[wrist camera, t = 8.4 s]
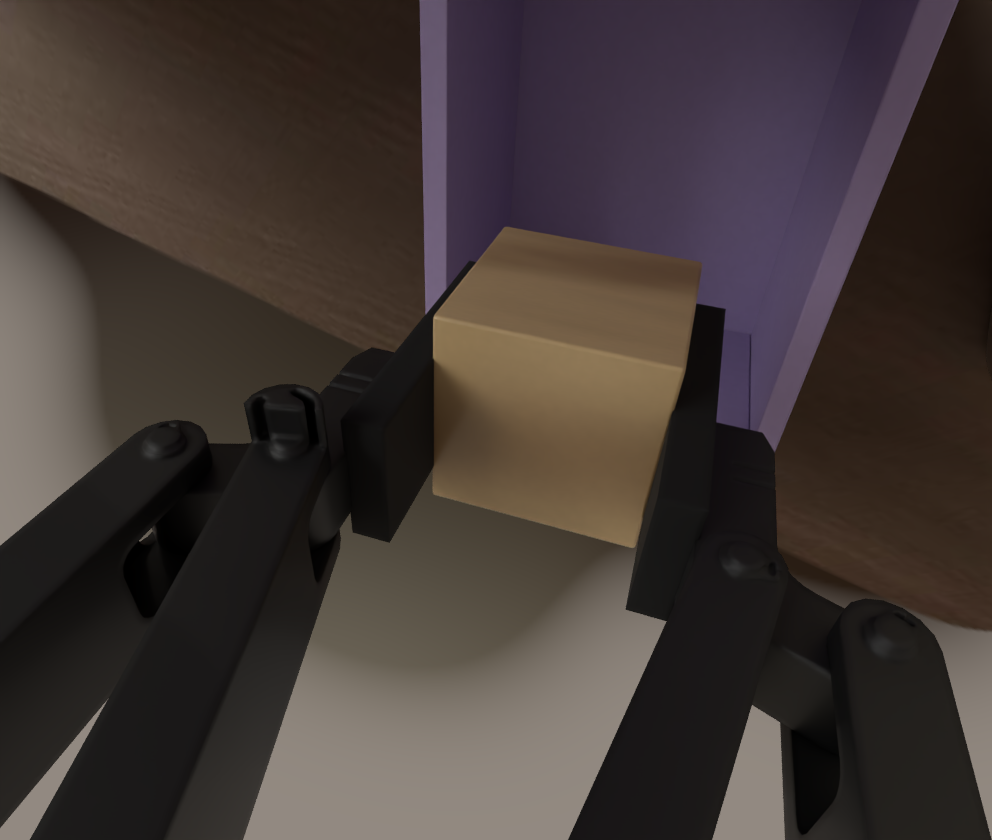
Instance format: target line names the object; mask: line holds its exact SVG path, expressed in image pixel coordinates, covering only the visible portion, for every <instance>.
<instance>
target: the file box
mask: <svg viewBox="0 0 992 840" xmlns="http://www.w3.org/2000/svg"><path fill="white" fill-rule="evenodd" d="M958 1H959V0H420V45H421V98H422V150H423V203H424V256H425V308H426V314H427V312H428V311H429V310H430V309H431V307H432V306H433V305H434V304H435V302H436V301H437V300H438V299H439V298H440V296H441V295H442V294H443V293H444V291H445V290H446V289H447V288H448V286H449V285H450V284H451V283H452V281H453V280H454V279H455V278H456V277H457V275H458V274H459V273H460V272H461V270H462V269H463V268H464V267H465V265H466V264H467V263H468V262H469V261H474V262H477V261H478V260H479V258H480V257H481V256H482V255H483V253H484V252H485V251H486V250H487V248H488V247H489V246H490V245H491V243H492V242H493V241H494V239H495V238H496V237H497V236H498V234H499V233H500V232H501V231H502V229H503V228H504V227H512V228H517V229H522V230H528V231H533V232H539V233H544V234H550V235H555V236H561V237H566V238H572V239H577V240H583V241H588V242H594V243H599V244H605V245H610V246H616V247H621V248H627V249H632V250H638V251H643V252H649V253H654V254H660V255H665V256H671V257H676V258H682V259H687V260H693V261H698V262H701V263H702V272H701V278H700V284H699V290H698V297H697V304H703V305H708V306H713V307H718V308H724V309H726V312H725V324H724V336H723V348H722V360H721V372H720V384H719V396H718V408H717V420H716V422H717V423H722V424H726V425H731V426H735V427H740V428H744V429H749V430H753V431H758V432H762V433H763V434H764V435H765V437H766V439H767V440H768V442H769V444H770V445H771V447H772V449H773V450H774V453H775V451H776V448H777V446H778V443H779V441H780V438H781V436H782V433H783V431H784V429H785V426H786V424H787V421H788V419H789V416H790V414H791V411H792V409H793V406H794V404H795V402H796V399H797V397H798V394H799V392H800V389H801V387H802V384H803V382H804V379H805V377H806V374H807V372H808V370H809V367H810V365H811V362H812V360H813V357H814V355H815V352H816V350H817V347H818V345H819V343H820V340H821V338H822V335H823V333H824V330H825V328H826V325H827V323H828V320H829V318H830V316H831V313H832V311H833V308H834V306H835V303H836V301H837V298H838V296H839V293H840V291H841V289H842V286H843V284H844V281H845V279H846V276H847V274H848V271H849V269H850V266H851V264H852V262H853V259H854V257H855V254H856V252H857V249H858V247H859V244H860V242H861V239H862V237H863V235H864V232H865V230H866V227H867V225H868V222H869V220H870V217H871V215H872V212H873V210H874V208H875V205H876V203H877V200H878V198H879V195H880V193H881V190H882V188H883V185H884V183H885V181H886V178H887V176H888V173H889V171H890V168H891V166H892V163H893V161H894V158H895V156H896V153H897V151H898V149H899V146H900V144H901V141H902V139H903V136H904V134H905V131H906V129H907V126H908V124H909V122H910V119H911V117H912V114H913V112H914V109H915V107H916V104H917V102H918V99H919V97H920V95H921V92H922V90H923V87H924V85H925V82H926V80H927V77H928V75H929V72H930V70H931V68H932V65H933V63H934V60H935V58H936V55H937V53H938V50H939V48H940V45H941V43H942V41H943V38H944V36H945V33H946V31H947V28H948V26H949V23H950V21H951V18H952V16H953V14H954V11H955V9H956V6H957V4H958Z"/></svg>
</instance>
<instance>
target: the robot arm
mask: <svg viewBox="0 0 992 840" xmlns="http://www.w3.org/2000/svg"><path fill="white" fill-rule="evenodd" d="M475 263H476V262H474V261H469V262H468V263H467V264H466V265H465V267H464V268H463V269H462V270H461V272H460V273H459V274H458V275H457V277H456V278H455V279H454V280H453V281H452V283H451V284H450V285H449V286H448V288H447V289H446V290H445V291H444V293H443V294H442V295H441V296H440V298H439V299H438V300H437V301H436V302H435V304H434V305H433V306H432V307H431V309H430V310H429V311H428V312H427V314H426V315H425V316H424V317H423V318H422V320H421V321H420V322H419V323H418V325H417V326H416V327H415V328H414V330H413V331H412V332H411V333H410V335H409V336H408V337H407V338H406V339H405V341H404V342H403V343H402V344H401V346H400V347H399V348H398V349H397V351H396V352H395V353H394V352H390V351H385V350H381V349H376V348H370V349H368V350H366V351H364V352H362V353H361V354H359V355H357V356H355V357H353V358H352V359H351V360H350V361H349V362H348V363H347V364H346V365H345V367H344V368H343V369H342V370H341V371H340V374H339V375H338V374H337V376H336V377H335V378H334V379H333V380H332V381H331V382H330V385H329V386H327V387H326V388H325V389H324V390H323V391H322V392H321V394H318V393H317V392H315V391H314V390H312V389H311V388H309V387H305V386H300V385H296V384H284V385H276V386H272V387H268V388H264V389H262V390H260V391H258V392H257V393H255V394H253V395H251V397H249V399H248V400H247V401H246V402H245V403H244V407H245V411H246V415H247V420H248V425H249V429H250V434H251V439H252V442H251V443H247V444H209V443H208V440H207V436H206V434H205V432H204V431H203V429H202V428H201V427H200V426H198V425H196V424H194V423H192V422H189V421H180V420H173V421H165V422H160V423H157V424H154V425H151V426H148V427H145V428H144V429H142V430H141V431H139V432H137V433H136V434H134V435H133V436H132V437H130V438H129V439H128V440H127V441H126V442H124V443H123V444H122V445H121V446H120V447H118V448H117V449H116V450H115V451H114V452H112V453H111V454H110V455H109V456H108V457H107V458H105V459H104V460H103V461H102V462H101V463H99V464H98V465H97V466H96V467H95V468H93V469H92V470H91V471H90V472H88V473H87V474H86V475H85V476H84V477H82V478H81V479H80V480H79V481H78V482H76V483H75V484H74V485H73V486H72V487H70V488H69V489H68V490H67V491H66V492H64V493H63V494H62V495H61V496H60V497H58V498H57V499H56V500H55V501H54V502H52V503H51V504H50V505H49V506H47V507H46V508H45V509H44V510H43V511H41V512H40V513H39V514H38V515H37V516H35V517H34V518H33V519H32V520H31V521H30V522H28V523H27V524H26V525H25V526H23V527H22V528H21V529H20V530H19V531H17V532H16V533H15V534H14V535H13V536H11V537H10V538H9V539H8V540H7V541H5V542H4V543H3V544H2V545H1V546H0V827H1V826H2V825H3V824H4V823H5V822H6V820H7V819H8V818H9V817H10V816H11V814H12V813H13V812H14V811H15V809H16V808H17V807H18V806H19V805H20V803H21V802H22V801H23V800H24V799H25V797H26V796H27V795H28V794H29V793H30V791H31V790H32V789H33V788H34V787H35V785H36V784H37V783H38V782H39V781H40V780H41V778H42V777H43V776H44V775H45V774H46V772H47V771H48V770H49V769H50V768H51V766H52V765H53V764H54V763H55V762H56V760H57V759H58V758H59V757H60V756H61V754H62V753H63V752H64V751H65V750H66V748H67V747H68V746H69V745H70V744H71V742H72V741H73V740H74V739H75V738H76V736H77V735H78V734H79V733H80V732H81V730H82V729H83V728H84V727H85V726H86V724H87V723H88V722H89V721H90V720H91V718H92V717H93V716H94V715H95V714H96V713H97V711H98V710H99V709H100V708H101V707H102V705H103V704H104V703H105V702H106V701H107V702H106V704H105V706H104V708H103V709H102V711H101V713H100V715H99V717H98V718H97V720H96V722H95V724H94V726H93V727H92V729H91V731H90V733H89V735H88V736H87V738H86V740H85V742H84V743H83V745H82V747H81V749H80V751H79V753H78V754H77V756H76V758H75V760H74V761H73V763H72V765H71V767H70V769H69V771H68V772H67V774H66V776H65V778H64V780H63V781H62V783H61V785H60V787H59V788H58V790H57V792H56V794H55V796H54V797H53V799H52V801H51V803H50V804H49V806H48V808H47V810H46V812H45V813H44V815H43V817H42V819H41V821H40V823H39V824H38V826H37V828H36V830H35V832H34V833H33V835H32V837H31V839H30V840H243V838H244V835H245V832H246V829H247V826H248V823H249V820H250V817H251V814H252V811H253V808H254V805H255V802H256V799H257V796H258V793H259V790H260V787H261V784H262V781H263V778H264V775H265V772H266V769H267V766H268V763H269V760H270V757H271V754H272V751H273V748H274V745H275V742H276V739H277V736H278V733H279V730H280V727H281V724H282V721H283V718H284V715H285V712H286V709H287V706H288V703H289V700H290V697H291V694H292V691H293V688H294V685H295V682H296V679H297V676H298V673H299V670H300V667H301V664H302V661H303V658H304V655H305V652H306V649H307V646H308V643H309V640H310V637H311V634H312V631H313V628H314V625H315V622H316V619H317V616H318V613H319V610H320V607H321V604H322V601H323V598H324V594H325V592H326V589H327V586H328V583H329V580H330V577H331V574H332V571H333V568H334V564H335V562H336V559H337V556H338V553H339V550H340V541H341V537H340V527H341V525H342V524H343V522H344V521H345V519H346V518H347V516H348V515H349V514H350V512H351V521H352V530H353V532H354V533H357V534H361V535H364V536H368V537H371V538H375V539H378V540H382V541H385V542H390V541H391V539H392V538H393V536H394V534H395V532H396V530H397V529H398V527H399V525H400V524H401V522H402V520H403V518H404V517H405V515H406V513H407V512H408V510H409V508H410V506H411V505H412V503H413V501H414V499H415V498H416V496H417V494H418V492H419V491H420V489H421V487H422V486H423V484H424V482H425V480H426V479H427V477H428V475H429V473H430V472H431V470H432V468H433V467H434V358H433V317H434V315H435V314H436V312H437V311H438V310H439V309H440V307H441V306H442V305H443V304H444V302H445V301H446V300H447V299H448V297H449V296H450V295H451V294H452V292H453V291H454V290H455V289H456V287H457V286H458V285H459V284H460V282H461V281H462V280H463V278H464V277H465V276H466V275H467V273H468V272H469V271H470V270H471V268H472V267H473V266H474V265H475ZM725 312H726V309H724V308H718V307H713V306H708V305H703V304H697V303H696V309H695V315H694V322H693V328H692V334H691V340H690V346H689V353H688V359H687V365H686V371H685V375H684V378H683V382H682V385H681V389H680V392H679V396H678V400H677V403H676V407H675V410H674V411H673V412H672V415H671V418H670V422H669V426H668V429H667V433H666V437H665V440H664V444H663V447H662V451H661V455H660V458H659V462H658V466H657V469H656V473H655V476H654V480H653V484H652V487H651V491H650V495H649V498H648V502H647V505H646V509H645V513H644V516H643V521H642V526H641V531H640V536H639V542H638V548H637V552H636V557H635V563H634V568H633V573H632V579H631V584H630V590H629V595H628V600H627V605H626V610H629V611H633V612H636V613H640V614H643V615H647V616H650V617H654V618H657V619H661V620H664V621H667V622H666V624H665V626H664V629H663V631H662V633H661V635H660V638H659V640H658V642H657V644H656V646H655V648H654V651H653V653H652V655H651V658H650V660H649V662H648V664H647V666H646V669H645V671H644V673H643V675H642V677H641V679H640V682H639V684H638V686H637V688H636V691H635V693H634V695H633V697H632V699H631V702H630V704H629V706H628V709H627V710H626V713H625V715H624V717H623V719H622V722H621V724H620V726H619V728H618V730H617V733H616V735H615V737H614V739H613V741H612V744H611V746H610V748H609V750H608V753H607V755H606V757H605V759H604V762H603V764H602V766H601V768H600V770H599V772H598V775H597V777H596V779H595V781H594V784H593V786H592V788H591V790H590V793H589V795H588V797H587V799H586V801H585V804H584V806H583V808H582V810H581V812H580V815H579V817H578V819H577V821H576V824H575V826H574V828H573V830H572V832H571V835H570V837H569V839H568V840H712V838H713V835H714V831H715V828H716V824H717V821H718V818H719V814H720V811H721V807H722V804H723V801H724V797H725V794H726V790H727V787H728V784H729V780H730V777H731V773H732V770H733V767H734V763H735V760H736V757H737V753H738V750H739V746H740V743H741V739H742V736H743V733H744V730H745V726H746V723H747V719H748V716H749V712H750V709H751V706H752V705H754V706H755V707H757V708H758V709H760V710H761V711H763V712H765V713H766V714H768V715H769V716H771V717H773V718H774V719H776V720H777V721H779V722H780V726H781V751H782V774H783V799H784V823H785V840H991V836H990V832H989V828H988V824H987V821H986V817H985V813H984V809H983V806H982V802H981V798H980V794H979V790H978V786H977V783H976V778H975V775H974V771H973V767H972V763H971V760H970V755H969V752H968V748H967V744H966V740H965V737H964V733H963V729H962V725H961V721H960V717H959V713H958V710H957V706H956V702H955V698H954V695H953V690H952V687H951V683H950V679H949V675H948V672H947V668H946V664H945V660H944V656H943V652H942V650H941V648H940V646H939V644H938V642H937V640H936V638H935V636H934V634H933V633H932V632H931V631H930V630H929V629H928V628H927V627H926V626H925V625H924V624H923V622H922V621H921V620H919V619H918V618H916V617H915V616H913V615H912V614H910V613H909V612H907V611H906V610H905V609H903V608H900V607H898V606H896V605H893V604H891V603H888V602H885V601H882V600H872V599H862V600H858V601H855V602H851V603H850V604H849V605H848V606H847V607H846V608H845V609H844V608H842V607H840V606H839V605H836V604H835V603H833V602H831V601H829V600H827V599H825V598H823V597H821V596H819V595H818V594H816V593H814V592H813V591H811V590H809V589H808V588H806V587H804V586H803V585H802V584H801V583H800V582H798V581H797V580H796V579H795V578H794V577H793V576H792V575H791V574H790V573H789V571H788V567H787V565H786V563H785V561H784V559H783V557H782V555H781V554H780V553H779V552H778V548H777V525H776V490H775V475H774V472H775V453H774V450H773V449H772V447H771V445H770V444H769V442H768V440H767V439H766V437H765V435H764V434H763V433H762V432H758V431H753V430H749V429H744V428H740V427H735V426H731V425H726V424H722V423H717V422H716V420H717V408H718V396H719V384H720V372H721V360H722V348H723V336H724V324H725ZM151 528H152V530H153V532H152V533H151V534H150V535H149V536H148V537H146V538H145V539H143V540H142V541H141V542H139V540H140V539H141V538H142V537H143V536H144V535H145V534H146V533H147V532H148V531H149V530H150V529H151ZM108 698H109V699H108ZM107 699H108V700H107Z"/></svg>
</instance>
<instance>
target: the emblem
mask: <svg viewBox="0 0 992 840" xmlns="http://www.w3.org/2000/svg"><path fill="white" fill-rule="evenodd" d="M986 360H987V367H988V371H989V374H990V377H991V380H992V308H991V315H990V321H989V329H988V337H987V346H986Z"/></svg>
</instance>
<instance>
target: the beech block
mask: <svg viewBox="0 0 992 840" xmlns="http://www.w3.org/2000/svg"><path fill="white" fill-rule="evenodd" d="M701 272H702V263H701V262H698V261H693V260H687V259H682V258H676V257H671V256H665V255H660V254H654V253H649V252H643V251H638V250H632V249H627V248H621V247H616V246H610V245H605V244H599V243H594V242H588V241H583V240H577V239H572V238H566V237H561V236H555V235H550V234H544V233H539V232H533V231H528V230H522V229H517V228H512V227H504V228H503V229H502V231H501V232H500V233H499V234H498V236H497V237H496V238H495V239H494V241H493V242H492V243H491V245H490V246H489V247H488V248H487V250H486V251H485V252H484V253H483V255H482V256H481V257H480V258H479V260H478V261H477V262H476V263H475V265H474V266H473V267H472V268H471V270H470V271H469V272H468V273H467V275H466V276H465V277H464V278H463V280H462V281H461V282H460V284H459V285H458V286H457V287H456V289H455V290H454V291H453V292H452V294H451V295H450V296H449V297H448V299H447V300H446V301H445V302H444V304H443V305H442V306H441V307H440V309H439V310H438V311H437V312H436V314H435V315H434V317H433V358H434V467H433V494H435V495H438V496H441V497H445V498H449V499H452V500H456V501H460V502H463V503H467V504H471V505H475V506H478V507H482V508H486V509H489V510H493V511H497V512H501V513H504V514H508V515H512V516H516V517H519V518H523V519H526V520H530V521H534V522H537V523H541V524H545V525H549V526H553V527H556V528H560V529H564V530H567V531H571V532H574V533H578V534H582V535H586V536H589V537H593V538H597V539H600V540H604V541H608V542H611V543H615V544H619V545H623V546H626V547H630V548H634V547H635V546H636V544H637V540H638V537H639V533H640V530H641V526H642V521H643V516H644V513H645V509H646V505H647V502H648V498H649V495H650V491H651V487H652V484H653V480H654V476H655V473H656V469H657V466H658V462H659V458H660V455H661V451H662V447H663V444H664V440H665V437H666V433H667V429H668V426H669V422H670V418H671V415H672V412H673V411H674V410H675V407H676V403H677V400H678V396H679V392H680V389H681V385H682V382H683V378H684V375H685V371H686V365H687V359H688V353H689V346H690V340H691V334H692V328H693V322H694V315H695V309H696V303H697V297H698V290H699V284H700V278H701Z"/></svg>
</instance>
